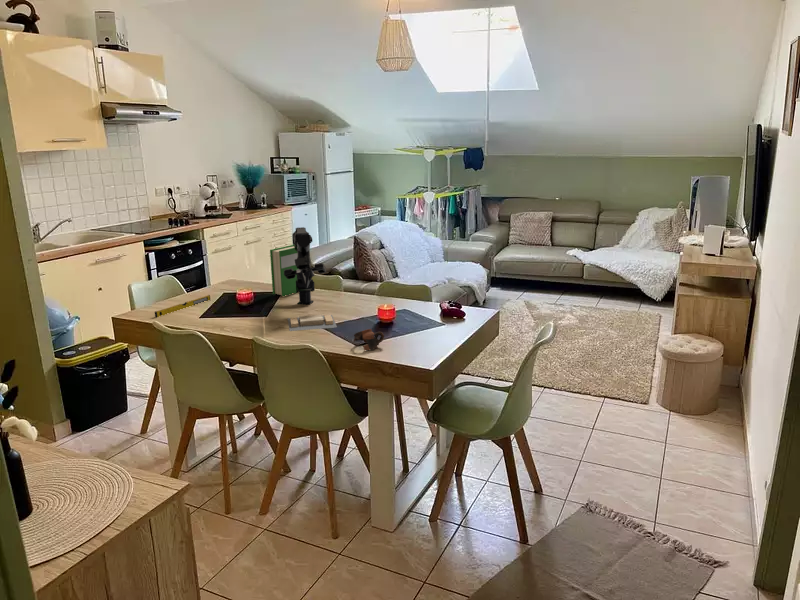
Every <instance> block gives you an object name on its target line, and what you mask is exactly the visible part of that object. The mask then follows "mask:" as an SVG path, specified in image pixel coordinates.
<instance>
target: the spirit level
mask: <svg viewBox="0 0 800 600" xmlns="http://www.w3.org/2000/svg"><path fill="white" fill-rule="evenodd" d="M208 300H210V301H211V295H210V294H207V295H205V296H202V297H201V296H200V297H198V298H195V299H191V300H189V301H185V302H184V303H179V304H176V305H173V306H172V305H171V306H168V307H166V308H161V309H159V310H156V311H154V317H155V318H159V316H160V317H162V316H161V315H163V316H165V314H166V315H168V314H167V313H169V314H172V313H175V312H174V311H176V312H178V311H177V310H179V311H181V310H180V309H182V310H184V309H183V308H185V309H187V308H186V307H188V308H190V307H189V306H191V307H193V306H192V305H194V306H196V305H195V304H197V305H199V304H198V303H201V302H204V301H207V302H209V301H208ZM204 303H205V302H204ZM201 304H202V303H201ZM171 312H172V313H171Z"/></svg>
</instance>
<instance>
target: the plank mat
mask: <svg viewBox="0 0 800 600" xmlns="http://www.w3.org/2000/svg"><path fill="white" fill-rule="evenodd" d="M322 316H323V319H324V324H319V325H306V326H301V325H300V321H299V316H297V317H287V323H288V329H289V332H293V331H297V332H298V331H306V330H307V331H308V330H309V331H310V330H319V329H320V330H322V329H333V328H334V329H335V328H338V326H337V323H336V322H335V319H334V316H333V315H332V314H327V315H322Z"/></svg>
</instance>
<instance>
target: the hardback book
mask: <svg viewBox="0 0 800 600" xmlns="http://www.w3.org/2000/svg"><path fill="white" fill-rule="evenodd" d="M269 256H270V257H269V259H270V271H271V284H272V285H271V287H272V295H273V294H277V295H280V296H281V297H282V296H285V295H288V296H290V295H289V294H291V295H293V294H292V293H294V294H296V280H297V275H296V277H295V278H292V279H287V278H286V277H285V276H284V270H285V269H291V268H292V269H293V270H294V271H295V270H298V269H299V268H297V266H295V259H297V258H298V254H297V251H296V250H295V249H294V245H293V244H291V245H290V244H289V245H285V246H281V247H275V248H273V249H272V248H271V249H270V250H269ZM297 289H298V288H297ZM285 297H286V296H285Z"/></svg>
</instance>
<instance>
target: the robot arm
mask: <svg viewBox="0 0 800 600" xmlns="http://www.w3.org/2000/svg"><path fill="white" fill-rule="evenodd" d="M291 237H292V245H294V249H295V250H296V251H297V254H298V258H297V259H295V266H297V268H299V269H298V270H295V271H294V270H293V269H292V268H291V269H285V270H284V276H285V277H286V278H287V279H292V278H295V277H296V275H297V280H296V293H298V296H299V298H298V299H299V301H298V302H297V303H296V304H297V305H303V306H304V305H305V306H306V305H307V306H309V305H311V304H313V302H314V300H312V294H311V292H312V293H313V292H315V281H314V279H313V277H315V272H317V273H318V274H319V275H321V274H326V273H327V268H326V266H325V264H324V263H323V262H318V263H315V264H314V266H312V264H311V263H312V261H311V260H312V258H311V252H310V250H311V244H312V243H313V236H312V235H311V234H310V232H308V231H307V230H306V227H304V226H303V227H295V231H294V232H293V233H292V236H291ZM297 288H298V289H297ZM296 293H295V294H296Z"/></svg>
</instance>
